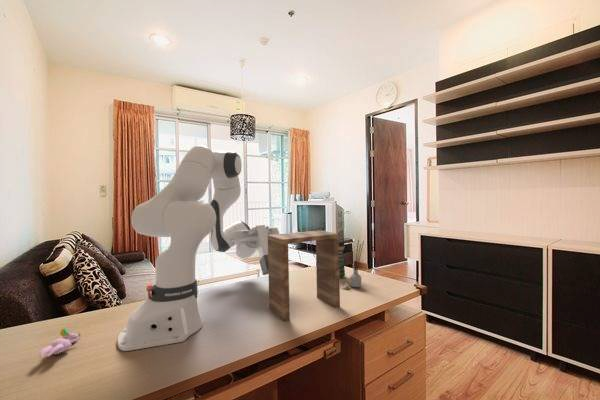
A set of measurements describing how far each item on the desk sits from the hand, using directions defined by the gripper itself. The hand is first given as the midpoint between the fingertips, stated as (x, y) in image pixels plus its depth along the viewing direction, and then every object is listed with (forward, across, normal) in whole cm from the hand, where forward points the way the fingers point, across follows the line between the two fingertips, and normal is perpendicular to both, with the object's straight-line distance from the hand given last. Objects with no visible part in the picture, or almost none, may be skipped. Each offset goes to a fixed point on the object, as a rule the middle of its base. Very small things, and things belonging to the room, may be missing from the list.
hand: (261, 228), depth 120 cm
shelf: (+9, +6, +35) cm, 37 cm away
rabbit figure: (+1, -63, +31) cm, 70 cm away
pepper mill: (-3, 0, +10) cm, 10 cm away
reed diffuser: (+3, +35, +32) cm, 48 cm away
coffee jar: (-13, +37, +23) cm, 45 cm away
